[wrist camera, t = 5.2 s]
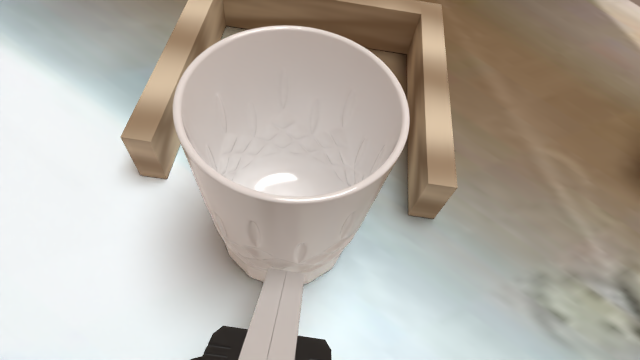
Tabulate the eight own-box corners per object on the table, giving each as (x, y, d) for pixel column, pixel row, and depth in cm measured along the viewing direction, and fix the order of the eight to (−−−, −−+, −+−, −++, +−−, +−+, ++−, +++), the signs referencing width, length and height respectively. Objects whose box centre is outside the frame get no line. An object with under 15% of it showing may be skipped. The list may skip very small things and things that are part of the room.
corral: (433, 218, 23) (457, 187, 20) (140, 175, 22) (120, 137, 20) (425, 44, 31) (441, 4, 28) (211, 10, 31) (204, -34, 28)
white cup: (267, 146, 24) (264, -1, 16) (381, 209, 23) (443, 81, 14) (181, 247, 20) (116, 121, 12) (310, 331, 19) (340, 253, 11)
